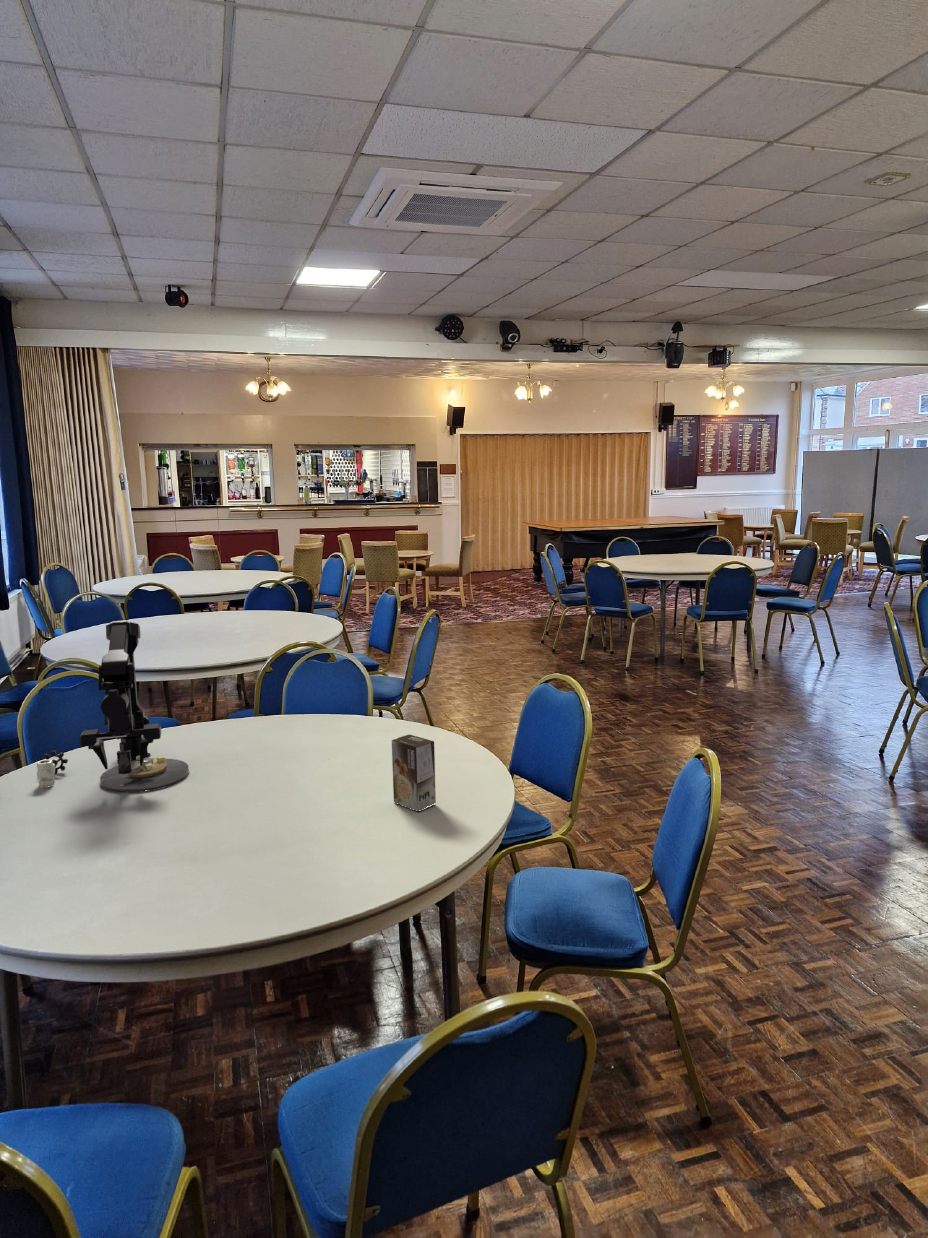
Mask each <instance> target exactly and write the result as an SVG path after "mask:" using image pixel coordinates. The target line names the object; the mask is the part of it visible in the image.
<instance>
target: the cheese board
mask: <svg viewBox="0 0 928 1238" xmlns="http://www.w3.org/2000/svg"><path fill="white" fill-rule="evenodd" d="M116 758H117V766H118V773H119V774H120V777H127V778H128V777H131V778H142V777H149V776H154V775H157V774H160V773H162V772H164V771H165V770H166V769H167V762H166V760H165V759H166V757H165V756H164V755H161V756H157V757H144V759H143V763H142V766H140V756H136V759H135V760H132V761H131V753H130V750H127V749H125V750H120V749H119V750H118V751H116Z"/></svg>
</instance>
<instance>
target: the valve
mask: <svg viewBox="0 0 928 1238" xmlns="http://www.w3.org/2000/svg"><path fill="white" fill-rule="evenodd" d="M64 755H65V753H64V752H62V751H61V752H60V753H58V754H57V751H56V750H55V749H54V750H51V751H50V755H49V754H48V753H44V755H43V759H42V760H39V761H37V763H36V767H37V768H36V769H37V771H36V778H37V780H38V788H40V787H47V788H49V787H48V786H51V787H53V786H54V785H55V784H54V783H55V775H57V774H58V772H59V770H61V772H64V771H65V770H66V766H65V765H64V764H67V763H68V762H69V759H67V758H64ZM53 757H54V759H51V758H53ZM55 757H56V758H58V759H56V758H55ZM59 762H60V765H58V764H59ZM52 785H53V786H52Z"/></svg>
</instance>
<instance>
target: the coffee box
mask: <svg viewBox="0 0 928 1238" xmlns="http://www.w3.org/2000/svg"><path fill="white" fill-rule="evenodd" d="M435 754H436V753H435V741H434V740H430V739H427V738H424V737H419V736H417V735H413V734H406V735H401V736H400V737H397V738H394V739H392V740H391V757H392V759H391V760H392V761H391V762H392V763H391V765H392V785H393V786H392V787H393V789H392V790H393V791H392V792H393V793H392V794H393V803H394V802H395V803H398V804H400V805H403V806H406V807H408V808H411V809H414V810H417V811H419V810H422V809H424V808H426V807H427V806H430V805H432V804H434V803H436V801H437V799H436V798H437V797H436V794H437V793H436V762H435V761H436V760H435V759H436V758H435V757H436V756H435ZM395 803H394V804H395ZM436 804H437V803H436ZM400 805H399V806H400ZM403 806H402V807H403ZM406 807H405V808H406ZM408 808H407V809H408ZM411 809H410V810H411ZM414 810H413V811H414Z"/></svg>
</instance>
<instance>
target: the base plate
mask: <svg viewBox="0 0 928 1238" xmlns="http://www.w3.org/2000/svg"><path fill="white" fill-rule="evenodd" d="M165 760H166V762H167V769H166V770H165V771H164V772H162V773H160V774H157V775H154V776H149V777H142V778H131V777H128V778H127V777H120V774H119V773H118V765H116V766H114V767H111V768H110V769H107V770H106V771H104V772H103V773H102V774H101V775H100V777H99V781H100V786H101V788H102V789H104V790H106V791H109V790H110V791H109V792H115V793H125V792H128V793H141V792H140V791H143V792H146V791H145V790H150V791H153V790H154V789H155V790H159V789H158V788H160V789H163V787H164V788H167V787H170V786H173V785H175V784H177V783H179V782H182V781H183V780H185V779H186V778H187V777H188V775H189V773H190V772H189V771H190V770H189V764H188V763H187V762H185V761H183V760H180V759H176V758H165ZM169 785H170V786H169Z"/></svg>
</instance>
